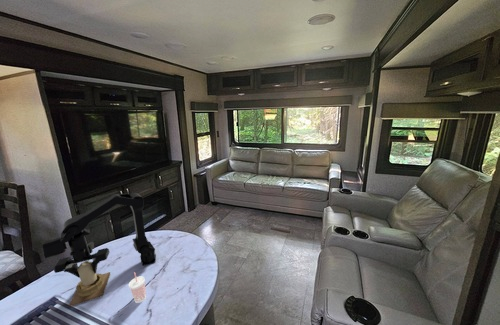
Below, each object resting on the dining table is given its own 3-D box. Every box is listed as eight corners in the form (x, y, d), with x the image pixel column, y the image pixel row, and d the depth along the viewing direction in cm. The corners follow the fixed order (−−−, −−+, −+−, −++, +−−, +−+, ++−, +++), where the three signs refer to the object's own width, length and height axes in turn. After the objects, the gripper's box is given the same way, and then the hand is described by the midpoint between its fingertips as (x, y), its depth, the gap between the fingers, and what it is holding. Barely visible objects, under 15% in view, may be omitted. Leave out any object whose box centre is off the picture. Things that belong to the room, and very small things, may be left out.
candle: (89, 286, 90) (83, 268, 87) (79, 285, 91) (73, 267, 88) (100, 277, 95) (94, 259, 92) (90, 275, 96) (85, 258, 93)
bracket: (110, 273, 103) (108, 267, 101) (102, 296, 90) (100, 289, 89) (81, 281, 98) (79, 275, 97) (69, 306, 86) (67, 299, 85)
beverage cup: (141, 305, 85) (135, 279, 81) (129, 303, 86) (122, 277, 82) (151, 293, 91) (145, 267, 87) (139, 291, 92) (133, 266, 88)
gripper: (108, 230, 98) (115, 257, 103) (60, 241, 92) (70, 268, 96) (102, 244, 88) (110, 272, 93) (48, 257, 82) (59, 287, 86)
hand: (88, 274), depth 92 cm, fingers closed on candle, 5 cm apart
